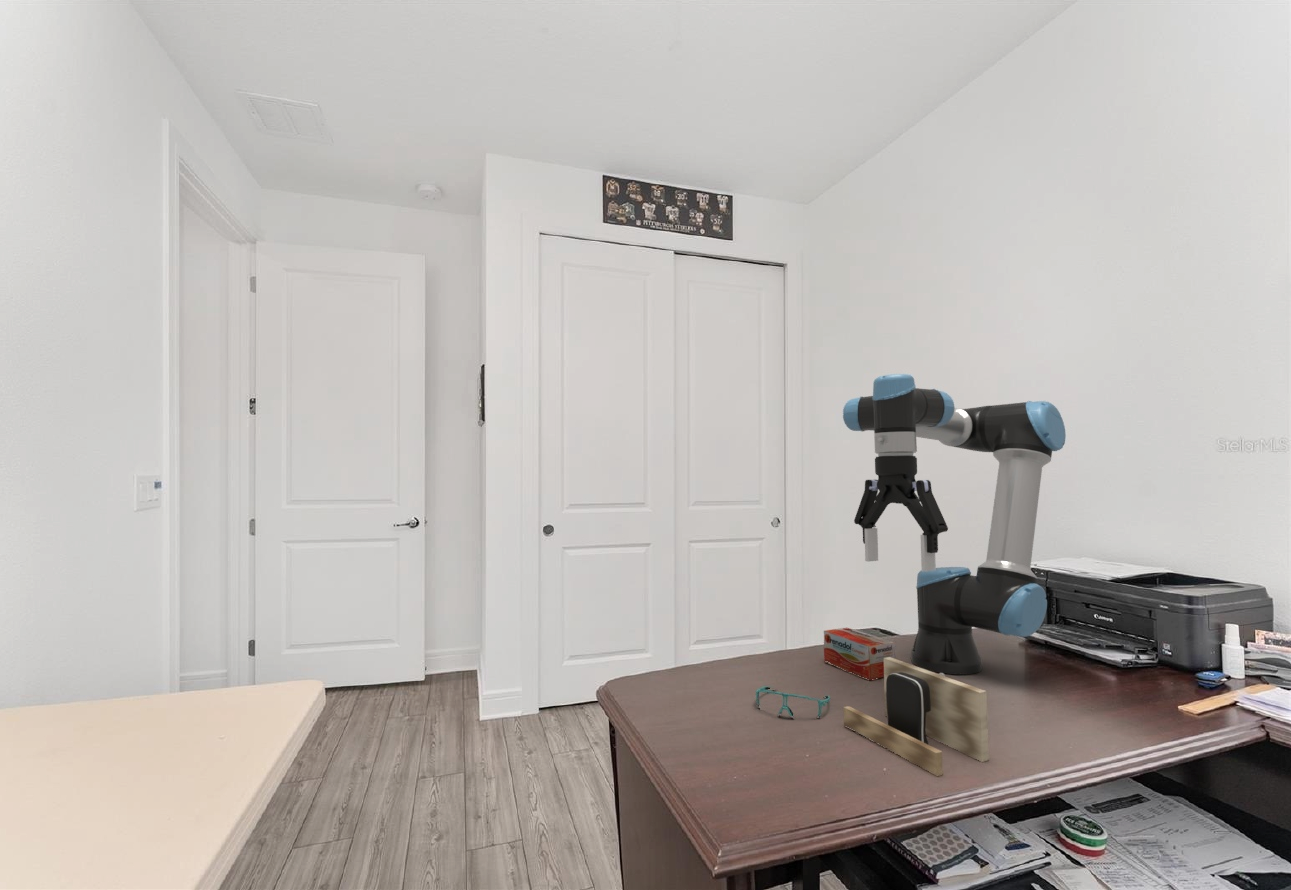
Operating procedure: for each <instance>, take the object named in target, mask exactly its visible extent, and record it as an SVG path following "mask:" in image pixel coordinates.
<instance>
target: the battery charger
mask: <svg viewBox="0 0 1291 890" xmlns="http://www.w3.org/2000/svg"><path fill="white" fill-rule="evenodd" d="M886 700H887V715H888V718H887V725H889V726H891V727H893V728H895V729H897V730H899V731H901V732H903V733H905V734H907V735H909V736H911V737H913V738H915V739H917V740H919V741H922V742H924V743H926V744H928V745H929V741H928V738H927V736H926V730H925V727H926V712H929V711H931V700H930V689H929V686H928V684H927V682H926V681H925V680H923V679H921V678H918V677H916V676H913V675H910V674H907V673H903V672H899V673H892V674H890V675H889V676H888V677H887V680H886Z"/></svg>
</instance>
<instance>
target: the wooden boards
mask: <svg viewBox="0 0 1291 890" xmlns="http://www.w3.org/2000/svg"><path fill="white" fill-rule="evenodd" d="M899 672H903V673H907V674H910V675H913V676H916V677H918V678H921V679H923V680H925V681H926V682H927V684H928V686H929V689H930V700H931V711H929V712H926V727H925V730H926V735H927V736H926V737H928V738H930V739H932V738H933V739H932V740H934V739H935V740H934V741H936V740H937V741H936V742H939V743H940V742H941V743H940V744H942V743H944V744H943V745H945V744H946V745H945V746H947V745H948V746H947V747H949V748H951V749H953V748H954V749H953V750H955V749H956V750H955V751H957V750H958V751H957V752H960V753H961V754H964V755H966V756H968V757H970V758H972V759H975V760H976V759H977V761H978V760H979V761H978V762H981V763H984V762H987V761H989V759H990V756H989V755H990V754H989V753H990V751H989V731H988V730H989V727H988V699H987V696H988V695H987V690H984V689H981V688H978V687H976V686H973V685H970V684H967V683H965V682H962V681H959V680H956V679H953V678H950V677H947V676H946V675H945V676H942V675H939V673H937V672H935V671H930V670H927V669H924V668H921V667H919V666H917V665H915V664H911V663H907V662H905V661H902V660H900V659H896V658H895V659H894V658H891V657H887V658H884V677H883V681H884V682H883V683H884V686H883V688H884V689H883V690H884V716H887V717H888V715H887V700H886V680H887V677H888V676H889V675H890V674H892V673H899ZM887 717H886V718H887ZM844 725H845V726H847V727H849V728H851V729H853V730H855V731H856V732H858V733H860V734H862V735H864V736H865V737H867V738H870V739H871V740H873V741H874V742H876V743H879V744H880V745H882V746H884V747H885V748H888V749H889V750H891V751H892V752H891V751H890V752H891V753H893V752H894V753H893V754H895V755H896V754H898V755H900V756H901V758H902V757H903V758H902V759H904V758H905V759H904V760H906V759H907V760H906V761H908V760H909V761H908V762H910V763H911V762H912V764H914V765H915V764H916V765H915V766H917V765H918V766H917V767H919V766H920V767H919V768H921V767H922V768H921V769H923V770H925V769H926V770H928V771H929V773H930V774H932V775H934V776H936V777H940V776H942V774H944V768H943V767H944V766H943V751H942V750H940V749H938V748H936V747H934V746H931V745H929V743H928V744H926V743H924V742H922V741H919V740H917V739H915V738H913V737H911V736H909V735H907V734H905V733H903V732H901V731H899V730H897V729H895V728H893V727H891V726H889V725H888V723H887V724H886V723H884V722H882V721H880V720H878V719H876V718H874V717H872V716H870V715H868V714H866V713H864V712H861V711H860V710H858V709H856V708H853V707H852V706H850V705H849V706H847V705H846V706H843V726H844ZM865 737H864V738H865ZM867 738H866V739H867ZM874 742H873V743H874ZM876 743H875V744H876ZM880 745H879V746H880ZM882 746H881V747H882ZM885 748H884V749H885ZM889 750H888V751H889ZM898 755H897V756H898ZM900 756H899V757H900ZM926 770H925V771H926ZM928 771H927V772H928Z"/></svg>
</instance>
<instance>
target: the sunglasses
mask: <svg viewBox="0 0 1291 890" xmlns="http://www.w3.org/2000/svg"><path fill="white" fill-rule="evenodd" d="M770 688H772V687H771V686H765V685H764V686H762V687H760V688H758V689H757V690H756V691H755V696H756V697H755V698H756V705H757V706H758V705H760V698H759V697H760V693H764V694H765V693H767V694H773V695H778V696H779V695H781V696H782V701H783V702H782V706H781V708H780V709H779V712H778V714H781V715H782V713H783V710H786V712H787V713H788V715H789V717H790V716H793V714H794V712H793V711H792V709H791V708H790V707H789V706H788V697H793V698H800V699H806V700H811V701H816V702H818V703H817V704H818V715H817V716H820V717H821V715H822V707H823V706H824V707H825V706H826V705H827V704H828V703H829V702H830V699H831V698H830V695H824V696H825V697H826V698H827V699H823V700H820V699H819V698H812V697H810V696H806V695H799V694H792V693H786V692H785V693H784V692H778V691H770V690H768V689H770ZM760 706H761V705H760ZM793 717H794V716H793Z"/></svg>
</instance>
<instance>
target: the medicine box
mask: <svg viewBox="0 0 1291 890" xmlns="http://www.w3.org/2000/svg"><path fill="white" fill-rule="evenodd" d="M895 649H896V648H895V643H894V641H891V640H888V639H886V638H882V637H879V636H876V635H873V634H869V633H867V632H866V633H865V632H863V631H860V630H856V629H855V628H854V629H853V628H850V627H841V628H835V629H834V628H833V629H827V630H823V657H824V662H825V661H828V662H830V663H831V664H833V665H835V666H838V667H840V668H842V669H844V670H846V671H848V672H852V673H854V674H856V675H859V676H861V677H864V678H867V679H870V680H872V679H876V678H878V679H881V678H884V658H887V657H891V658H894V659H896V651H895ZM846 671H845V672H846ZM848 672H847V673H848ZM856 675H855V676H856ZM861 677H860V678H861ZM876 680H877V679H876ZM872 681H873V680H872Z"/></svg>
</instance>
